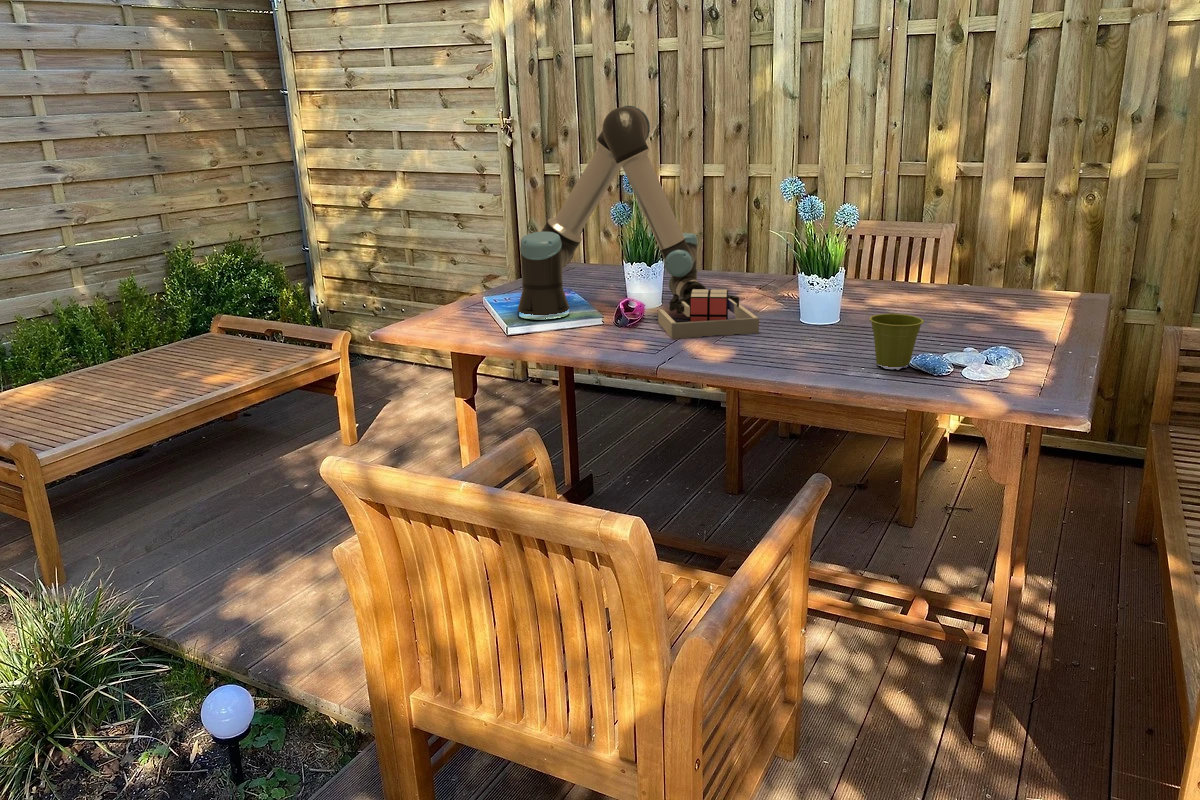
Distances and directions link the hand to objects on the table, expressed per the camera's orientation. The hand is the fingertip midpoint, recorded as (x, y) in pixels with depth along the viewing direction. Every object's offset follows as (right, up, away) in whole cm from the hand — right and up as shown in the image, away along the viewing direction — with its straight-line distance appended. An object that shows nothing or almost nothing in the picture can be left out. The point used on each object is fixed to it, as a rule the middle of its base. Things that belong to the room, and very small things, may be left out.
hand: (712, 310), depth 247 cm
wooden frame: (-1, -4, +6) cm, 8 cm away
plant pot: (+38, -16, -31) cm, 52 cm away
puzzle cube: (0, -5, +5) cm, 7 cm away
